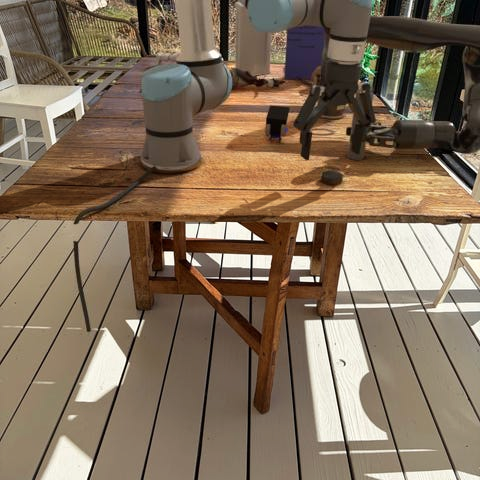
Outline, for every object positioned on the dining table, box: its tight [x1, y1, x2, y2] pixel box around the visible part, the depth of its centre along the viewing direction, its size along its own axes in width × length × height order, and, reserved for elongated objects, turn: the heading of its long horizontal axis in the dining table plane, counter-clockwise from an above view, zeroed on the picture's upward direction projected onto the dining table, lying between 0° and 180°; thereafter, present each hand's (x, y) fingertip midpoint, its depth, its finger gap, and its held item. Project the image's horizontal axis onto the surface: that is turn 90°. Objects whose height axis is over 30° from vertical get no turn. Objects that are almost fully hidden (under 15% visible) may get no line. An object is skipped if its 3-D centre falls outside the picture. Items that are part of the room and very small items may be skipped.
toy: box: [155, 51, 181, 66], centre depth 223 cm, size 24×25×7 cm
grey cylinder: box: [346, 86, 375, 161], centre depth 124 cm, size 4×4×18 cm
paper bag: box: [234, 1, 273, 77], centre depth 210 cm, size 19×15×28 cm
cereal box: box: [283, 25, 325, 81], centre depth 202 cm, size 17×5×24 cm, turn 86°
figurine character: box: [264, 105, 290, 143], centre depth 140 cm, size 7×8×15 cm
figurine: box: [230, 66, 287, 89], centre depth 190 cm, size 24×8×30 cm
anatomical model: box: [310, 66, 321, 86], centre depth 190 cm, size 13×9×15 cm
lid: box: [320, 170, 344, 186], centre depth 114 cm, size 5×5×2 cm
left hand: (330, 155), depth 112 cm, fingers open, 13 cm apart
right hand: (348, 134), depth 125 cm, fingers closed on grey cylinder, 4 cm apart
